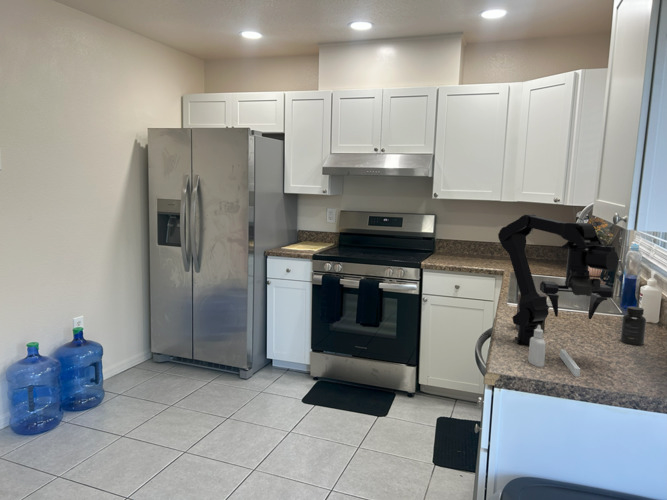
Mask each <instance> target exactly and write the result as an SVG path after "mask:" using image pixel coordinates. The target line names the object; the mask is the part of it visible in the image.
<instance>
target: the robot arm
mask: <svg viewBox="0 0 667 500" xmlns="http://www.w3.org/2000/svg"><path fill="white" fill-rule="evenodd" d="M533 230H539V231H543V232H547V233H551V234H555V235H557V236H559V237H561V238H562V239H563V240H565V241H567V242H566V243H565V244H563V245H561V249H565V250H568V251H567V261H566V267H565V280H564V285H563V284H558V283H557V282H555V281H550V280H549V281H548V280H542V281H541V282H540V284H539V290H540V291H541V293H544V294H546V295H547V297H548V298H549V300H550V303H551V306H552V309H553V312H554V316H555V317H556V318H558V316H559V298H560V297H559V296H560V295H559V294H558V293H559V292H564V293H565V292H566V293H572V294H573V295H575V296H586V297H590V299H589V306H588V319H589V320H591V319H592V318H593V316H594V314H595V312H596V311H597V309H598V307H599V306H600V305H601V303H602V302H604V301H608V299H611V298H612V299H613V297H614V290H613V288H612V287H610V286H608V284H607V285H606V284H602V283H601V278H594V277H593V278H590V269H589V268H591V269H595V270H601V271H607V272H614V271H615V270H616V269H617V267H618V265H619V262H620V261H619V260H620V258H619V255H618V253H617V251H616V246H612V245H608V246H607V245H606V246H605V245H604V244H603V242H602V241H601V240H600V238H599V236H598V234H597V230H596V227H595V226H594V224H592V223H590V222H565V221H560V220H556V219H551V218H547V217H542V216H538V215H535V214H523V215H521V216H520V217H519V218H518V219H516V220H514V221H513V222H511V223H509V224H507V225H506V226H504V227H502V228H501V229H500V230H499V231H498V233H497V236H498V237H497V238H498V240H499V243H500V245H501V247H502V249H504V250H505V252H506V253H507V254H508V255H509V259H510V263H511V265H512V269H513V272H514V275H515V279H516V283H517V286H518V290H519V292H520V294H521V298H520V302H519V310H520V311H519V312H518V313H517V312H516V313H515V314H514V315H513V316H512V318H511V319H512V323H513V324H514V325H515V326H516V325H518V330H517V336H515V337H514V339H515V341H516V344H517V345H522V346H523V345H526V346H529V345H530V338H531V337H534V330H535V329H537V325H539V324H543V322H544V320H545V321H546V319H547V318H548V316H549V309H550V307H549V305H548V302H547V301H546V297H545V296H543V297H541V296H540V295H539V294H538V293H537V292H538V291H537V288H536V286H535V282H534V279H533V275H532V271H531V268H530V265H529V261H528V258H527V254H526V251H525V250H526V247H527V236H529V235H530V234H531V233H532V231H533Z"/></svg>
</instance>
